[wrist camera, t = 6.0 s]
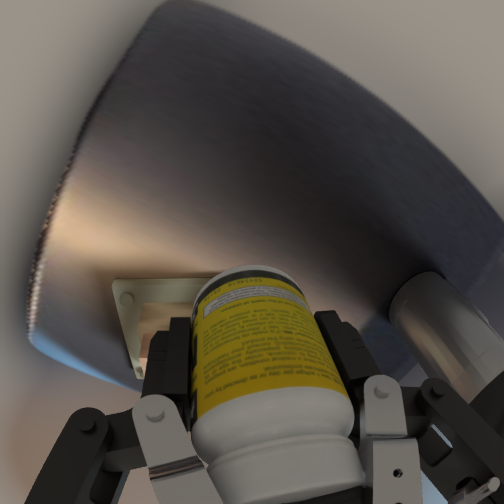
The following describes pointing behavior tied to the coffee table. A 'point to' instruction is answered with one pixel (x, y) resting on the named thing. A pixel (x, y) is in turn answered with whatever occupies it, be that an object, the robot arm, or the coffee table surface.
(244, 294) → the supplement bottle
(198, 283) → the stepped pedestal block
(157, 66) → the coffee table surface
